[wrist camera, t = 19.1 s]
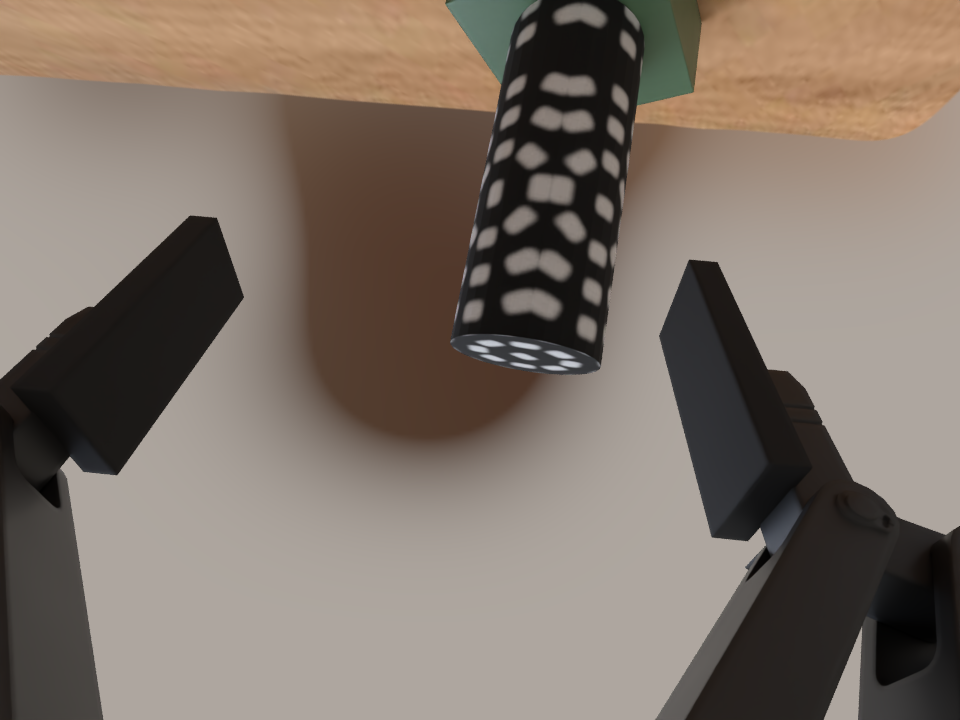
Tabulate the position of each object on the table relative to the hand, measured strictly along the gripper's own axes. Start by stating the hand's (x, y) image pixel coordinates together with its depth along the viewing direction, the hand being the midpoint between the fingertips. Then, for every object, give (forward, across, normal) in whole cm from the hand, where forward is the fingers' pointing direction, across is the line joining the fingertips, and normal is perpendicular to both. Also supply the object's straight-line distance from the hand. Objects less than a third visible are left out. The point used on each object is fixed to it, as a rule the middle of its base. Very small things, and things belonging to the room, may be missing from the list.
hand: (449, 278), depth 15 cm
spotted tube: (+25, +5, +1) cm, 25 cm away
